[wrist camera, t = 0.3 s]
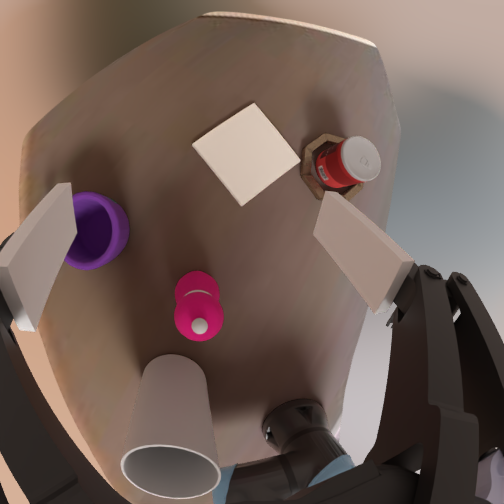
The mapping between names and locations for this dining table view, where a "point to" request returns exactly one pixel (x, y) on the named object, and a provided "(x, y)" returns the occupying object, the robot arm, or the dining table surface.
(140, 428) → the cylinder vase
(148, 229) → the dining table surface
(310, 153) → the wooden polygonal ring
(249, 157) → the coaster
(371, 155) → the canned food
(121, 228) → the mug
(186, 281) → the pepper mill
